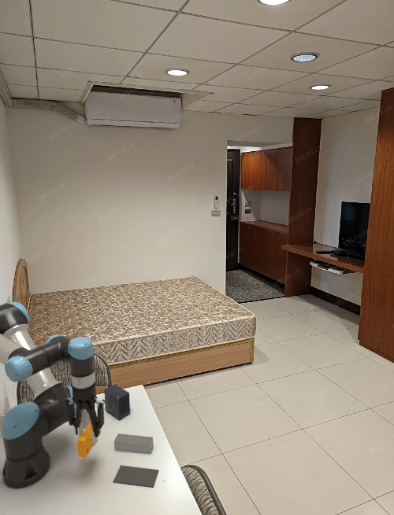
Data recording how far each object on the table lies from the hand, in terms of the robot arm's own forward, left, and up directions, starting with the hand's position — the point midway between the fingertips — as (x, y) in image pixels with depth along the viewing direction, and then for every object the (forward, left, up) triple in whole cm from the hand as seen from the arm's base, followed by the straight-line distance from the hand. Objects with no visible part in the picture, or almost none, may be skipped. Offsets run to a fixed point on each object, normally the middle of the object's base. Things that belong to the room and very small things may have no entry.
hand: (88, 442), depth 122 cm
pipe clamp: (0, 0, -1) cm, 1 cm away
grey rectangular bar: (+12, +11, -10) cm, 20 cm away
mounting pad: (+17, -1, -10) cm, 20 cm away
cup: (-12, +22, -11) cm, 27 cm away
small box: (-2, +31, -11) cm, 33 cm away
